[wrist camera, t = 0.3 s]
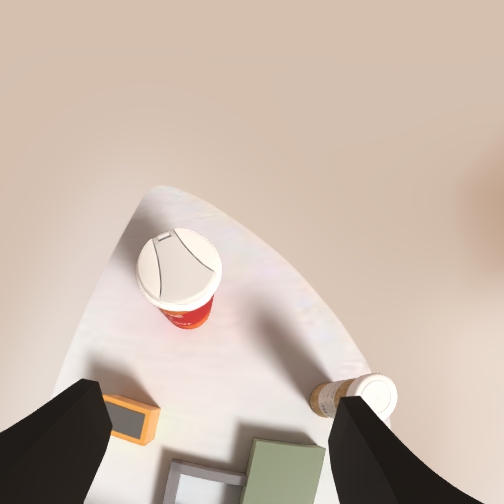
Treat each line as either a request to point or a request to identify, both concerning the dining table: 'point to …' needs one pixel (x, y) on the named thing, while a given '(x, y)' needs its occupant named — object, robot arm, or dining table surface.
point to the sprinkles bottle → (356, 394)
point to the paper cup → (180, 275)
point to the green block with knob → (262, 474)
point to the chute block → (132, 419)
